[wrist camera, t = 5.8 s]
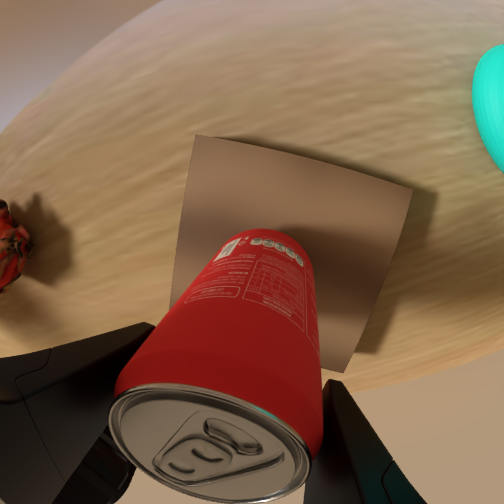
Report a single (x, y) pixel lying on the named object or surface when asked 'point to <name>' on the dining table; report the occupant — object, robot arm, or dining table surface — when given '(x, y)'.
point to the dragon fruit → (11, 249)
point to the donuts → (490, 102)
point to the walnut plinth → (295, 227)
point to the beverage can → (229, 379)
